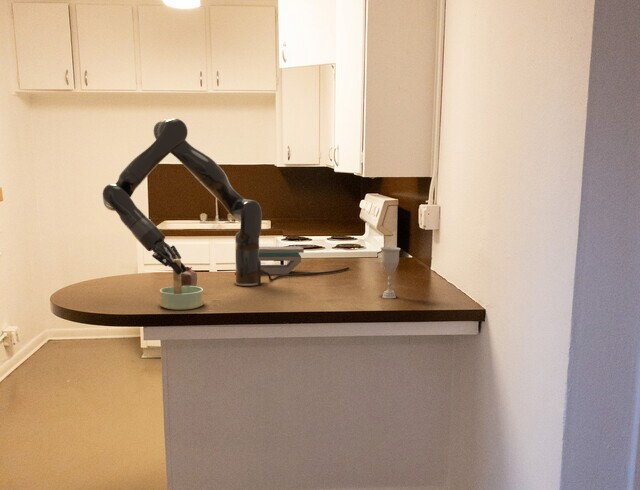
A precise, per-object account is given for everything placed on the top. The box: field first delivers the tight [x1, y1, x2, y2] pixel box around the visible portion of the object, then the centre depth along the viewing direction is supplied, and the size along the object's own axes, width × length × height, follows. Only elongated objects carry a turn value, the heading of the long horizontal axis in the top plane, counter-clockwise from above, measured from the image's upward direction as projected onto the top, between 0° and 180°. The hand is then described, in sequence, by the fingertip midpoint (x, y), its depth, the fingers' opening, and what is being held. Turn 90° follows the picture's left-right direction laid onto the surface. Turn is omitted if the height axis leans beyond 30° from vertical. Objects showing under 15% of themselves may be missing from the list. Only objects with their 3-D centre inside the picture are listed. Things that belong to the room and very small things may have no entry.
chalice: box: [380, 246, 401, 299], centre depth 241 cm, size 7×7×18 cm
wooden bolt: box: [172, 258, 182, 294], centre depth 221 cm, size 5×5×15 cm
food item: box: [181, 266, 198, 287], centre depth 242 cm, size 14×8×10 cm, turn 7°
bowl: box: [159, 285, 205, 311], centre depth 222 cm, size 14×14×6 cm
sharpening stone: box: [259, 246, 305, 275], centre depth 287 cm, size 25×8×11 cm, turn 98°
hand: (182, 271), depth 220 cm, fingers closed on wooden bolt, 2 cm apart
